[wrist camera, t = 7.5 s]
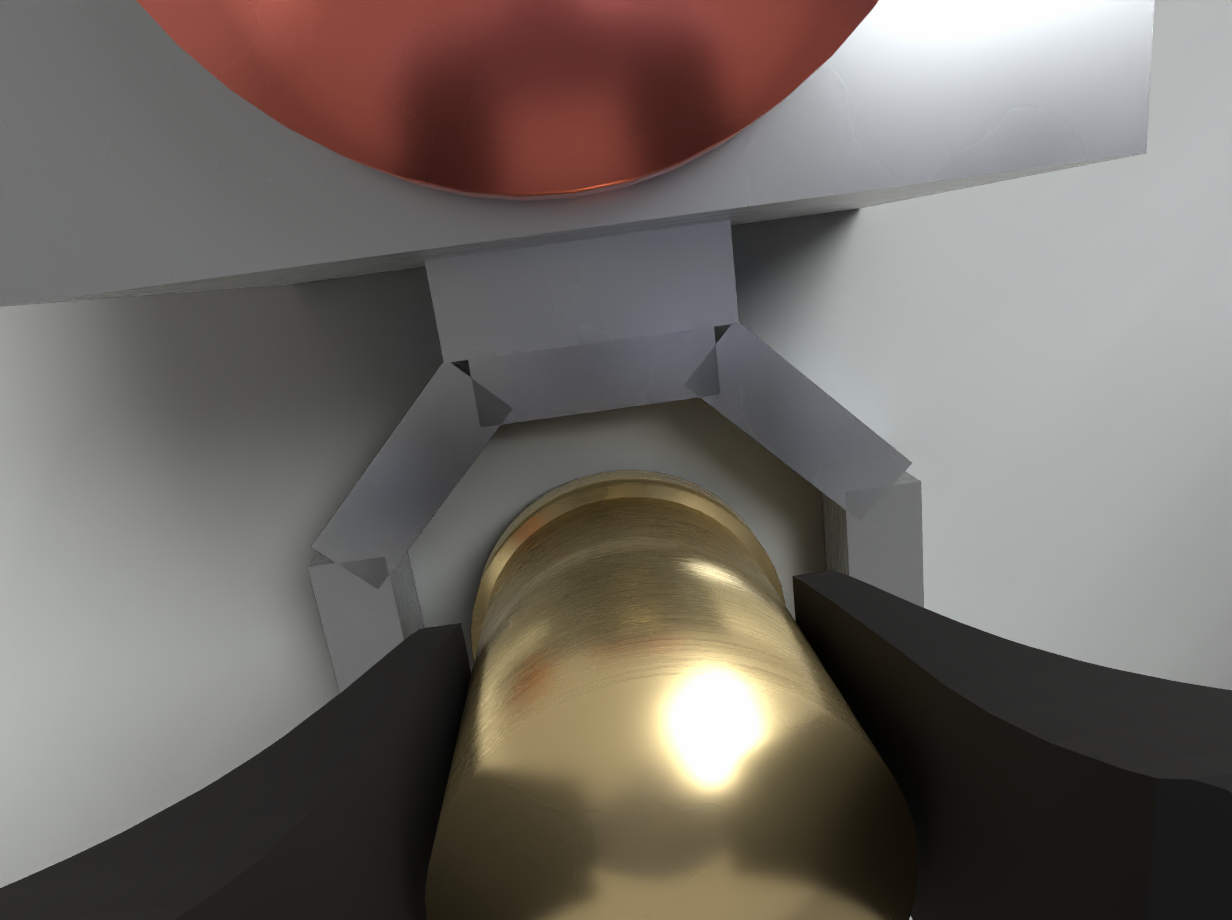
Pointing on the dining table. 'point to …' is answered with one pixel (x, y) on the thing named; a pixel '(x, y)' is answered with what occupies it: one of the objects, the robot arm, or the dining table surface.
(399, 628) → the red button switch
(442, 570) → the dining table surface
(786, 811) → the knob
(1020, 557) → the dining table surface
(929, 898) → the robot arm
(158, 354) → the dining table surface
